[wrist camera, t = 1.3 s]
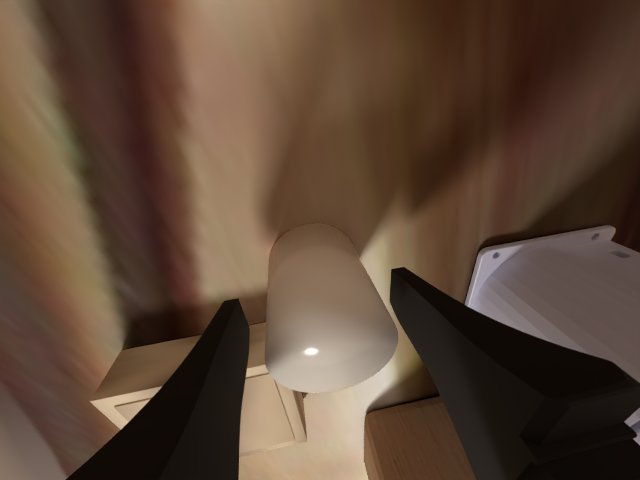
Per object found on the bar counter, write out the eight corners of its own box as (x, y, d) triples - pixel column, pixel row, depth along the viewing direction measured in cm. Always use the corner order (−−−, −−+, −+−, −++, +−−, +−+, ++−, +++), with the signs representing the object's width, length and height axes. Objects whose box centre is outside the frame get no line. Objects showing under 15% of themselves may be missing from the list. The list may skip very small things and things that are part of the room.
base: (282, 318, 16) (283, 361, 13) (303, 399, 21) (307, 442, 18) (121, 350, 15) (88, 403, 12) (183, 426, 20) (169, 475, 18)
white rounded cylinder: (352, 216, 13) (402, 290, 8) (355, 286, 16) (394, 377, 11) (259, 231, 13) (249, 319, 8) (277, 301, 15) (279, 403, 10)
